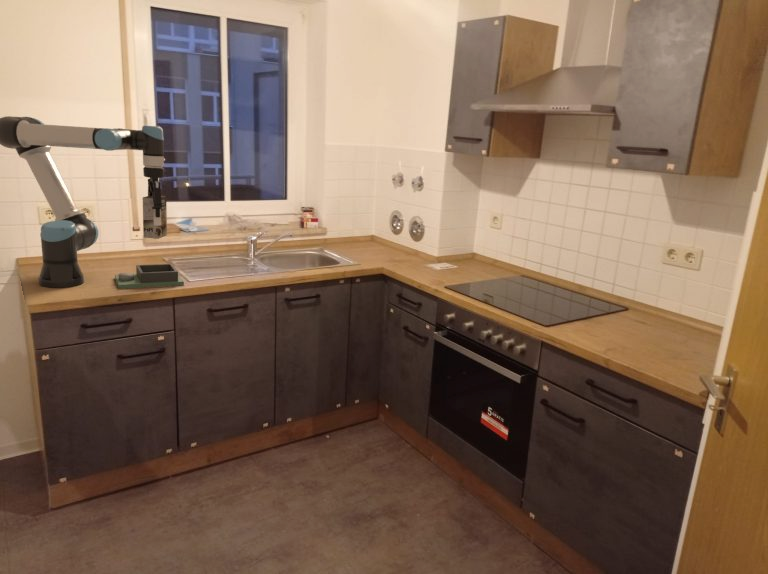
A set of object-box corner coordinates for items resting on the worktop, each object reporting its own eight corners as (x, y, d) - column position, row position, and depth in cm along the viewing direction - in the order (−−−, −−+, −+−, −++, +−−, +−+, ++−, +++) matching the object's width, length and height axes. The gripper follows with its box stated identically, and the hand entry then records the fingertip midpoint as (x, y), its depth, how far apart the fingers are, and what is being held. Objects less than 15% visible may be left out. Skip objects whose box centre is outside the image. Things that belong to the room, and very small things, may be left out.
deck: (119, 288, 220) (118, 274, 218) (115, 278, 233) (114, 265, 232) (183, 285, 232) (183, 272, 230) (176, 275, 245) (176, 263, 244)
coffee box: (159, 239, 226) (158, 198, 222) (142, 237, 226) (141, 196, 222) (167, 235, 235) (167, 195, 230) (152, 234, 235) (151, 194, 230)
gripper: (169, 169, 215) (170, 227, 221) (158, 164, 234) (159, 218, 240) (148, 169, 212) (149, 228, 217) (139, 164, 231) (140, 218, 236)
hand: (155, 222), depth 229 cm, fingers closed on coffee box, 10 cm apart
